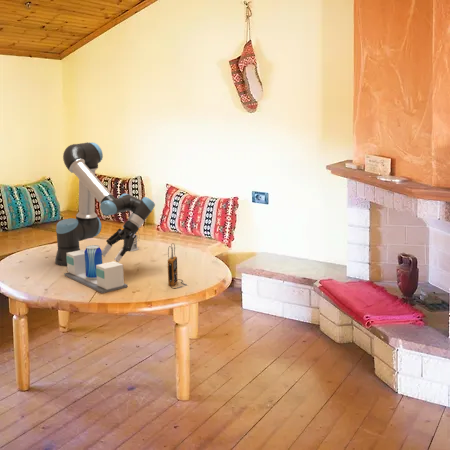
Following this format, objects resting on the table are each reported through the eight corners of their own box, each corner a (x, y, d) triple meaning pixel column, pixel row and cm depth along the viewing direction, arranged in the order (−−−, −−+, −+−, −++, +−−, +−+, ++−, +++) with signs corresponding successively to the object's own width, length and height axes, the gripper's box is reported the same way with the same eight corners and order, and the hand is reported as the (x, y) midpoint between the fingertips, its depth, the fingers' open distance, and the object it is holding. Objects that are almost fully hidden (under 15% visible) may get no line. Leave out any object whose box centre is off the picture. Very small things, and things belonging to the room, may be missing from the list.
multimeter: (186, 289, 310) (185, 249, 305) (166, 288, 312) (164, 248, 307) (193, 280, 324) (192, 241, 319) (174, 279, 326) (173, 240, 321)
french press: (130, 246, 390) (128, 205, 385) (144, 248, 384) (143, 207, 378) (118, 249, 382) (116, 208, 377) (133, 252, 376) (131, 210, 370)
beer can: (87, 275, 328) (86, 244, 324) (104, 275, 328) (102, 244, 324) (84, 280, 320) (82, 248, 316) (101, 280, 319) (99, 248, 316)
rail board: (64, 275, 333) (62, 253, 331) (88, 270, 342) (87, 248, 340) (102, 293, 305) (101, 269, 303) (127, 287, 314) (126, 263, 312)
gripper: (151, 232, 326) (127, 267, 320) (125, 224, 344) (101, 257, 338) (142, 224, 321) (117, 258, 315) (115, 216, 340) (92, 249, 334)
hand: (109, 258), depth 327 cm, fingers open, 13 cm apart
